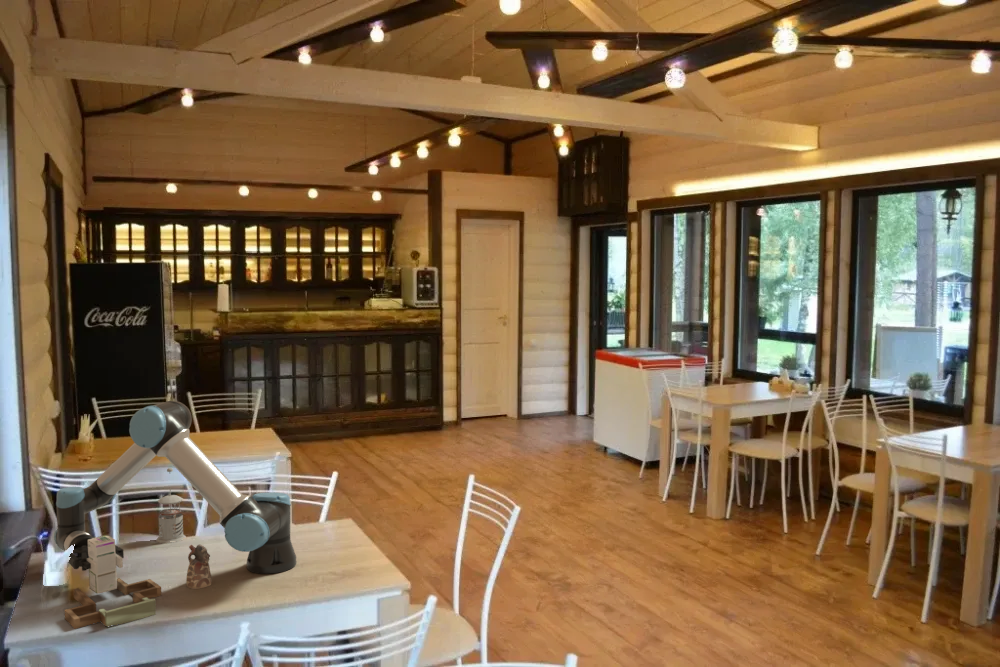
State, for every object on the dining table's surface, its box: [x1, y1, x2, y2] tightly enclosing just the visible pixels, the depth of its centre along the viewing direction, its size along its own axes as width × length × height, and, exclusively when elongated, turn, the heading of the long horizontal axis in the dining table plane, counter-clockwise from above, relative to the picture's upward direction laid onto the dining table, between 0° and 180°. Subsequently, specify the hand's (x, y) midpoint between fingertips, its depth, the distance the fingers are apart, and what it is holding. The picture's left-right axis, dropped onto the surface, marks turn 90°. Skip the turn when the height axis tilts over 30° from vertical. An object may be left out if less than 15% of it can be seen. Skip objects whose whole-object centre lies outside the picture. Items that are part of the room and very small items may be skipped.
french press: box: [155, 467, 187, 544], centre depth 278 cm, size 10×12×25 cm
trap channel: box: [64, 577, 162, 630], centre depth 220 cm, size 27×25×4 cm
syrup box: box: [88, 534, 118, 595], centre depth 226 cm, size 6×6×14 cm
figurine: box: [185, 544, 213, 590], centre depth 236 cm, size 7×7×12 cm
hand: (108, 565), depth 222 cm, fingers closed on syrup box, 6 cm apart
